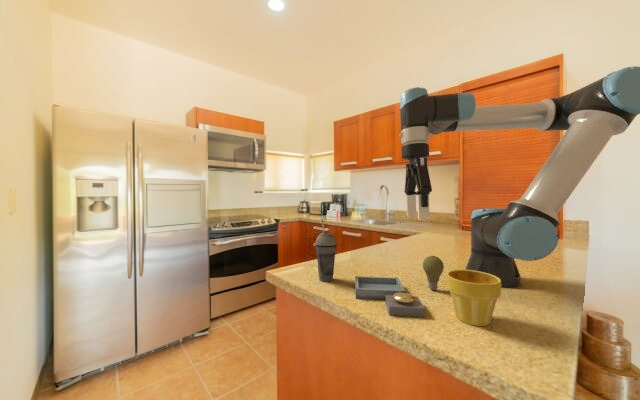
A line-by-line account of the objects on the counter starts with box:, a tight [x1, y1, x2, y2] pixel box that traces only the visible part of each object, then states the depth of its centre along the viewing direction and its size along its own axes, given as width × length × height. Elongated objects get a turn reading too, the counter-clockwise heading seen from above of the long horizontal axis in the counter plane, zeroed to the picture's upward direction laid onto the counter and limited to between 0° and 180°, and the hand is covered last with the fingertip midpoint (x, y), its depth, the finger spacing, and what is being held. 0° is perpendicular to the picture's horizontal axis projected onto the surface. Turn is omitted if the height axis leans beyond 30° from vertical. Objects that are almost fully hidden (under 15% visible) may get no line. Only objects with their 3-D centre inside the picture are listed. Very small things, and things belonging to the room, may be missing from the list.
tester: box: [384, 294, 426, 318], centre depth 62 cm, size 8×7×3 cm
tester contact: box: [393, 292, 415, 303], centre depth 62 cm, size 5×5×1 cm
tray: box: [354, 275, 407, 301], centre depth 74 cm, size 13×11×2 cm
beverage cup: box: [314, 218, 338, 283], centre depth 84 cm, size 7×7×20 cm
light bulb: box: [422, 255, 445, 291], centre depth 75 cm, size 6×6×10 cm
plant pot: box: [446, 269, 502, 327], centre depth 57 cm, size 10×10×10 cm
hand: (417, 217), depth 75 cm, fingers open, 13 cm apart
